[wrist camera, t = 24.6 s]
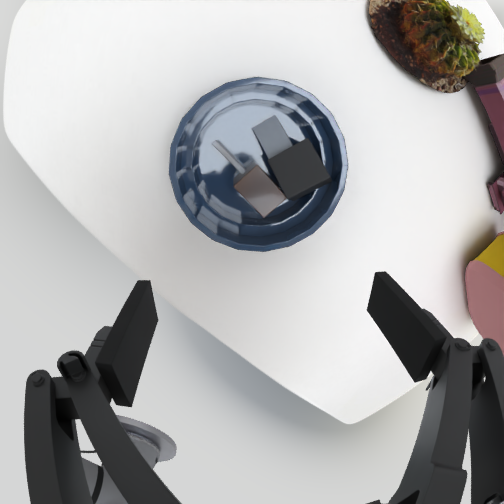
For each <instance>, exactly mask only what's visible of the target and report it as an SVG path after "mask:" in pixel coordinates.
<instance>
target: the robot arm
mask: <svg viewBox="0 0 504 504" xmlns="http://www.w3.org/2000/svg"><path fill="white" fill-rule="evenodd" d="M367 311H368V313H369V314H370V315H371V317H372V318H373V320H374V321H375V323H376V324H377V326H378V327H379V329H380V330H381V331H382V333H383V334H384V336H385V337H386V339H387V340H388V342H389V343H390V345H391V346H392V348H393V349H394V351H395V352H396V354H397V356H398V357H399V359H400V360H401V362H402V363H403V365H404V366H405V368H406V370H407V371H408V373H409V374H410V376H411V378H412V379H413V381H414V382H418V381H422V380H425V379H426V378H427V376H428V375H429V373H430V371H432V373H433V374H434V376H433V378H432V379H431V381H430V383H429V385H428V386H427V388H426V390H428V389H429V388H430V389H429V394H428V399H427V403H426V407H425V411H424V415H423V419H422V422H421V426H420V430H419V433H418V436H417V440H416V443H415V446H414V449H413V452H412V455H411V458H410V461H409V463H408V466H407V469H406V471H405V474H404V477H403V479H402V481H401V484H400V486H399V488H398V490H397V491H396V493H395V494H394V495H393V497H392V498H391V500H390V501H389V503H388V504H460V502H461V499H462V495H463V491H464V487H465V484H466V479H467V471H466V470H463V469H462V464H463V459H464V454H465V448H466V442H467V435H468V428H469V437H470V450H471V504H504V355H503V353H502V350H501V348H500V346H499V344H498V343H497V342H496V341H495V340H493V339H490V338H484V339H483V340H482V342H481V344H480V346H471V345H470V344H469V342H467V341H466V340H464V339H462V338H453V337H452V335H451V334H450V333H449V332H448V331H447V330H446V329H445V328H444V326H443V325H442V324H441V323H440V322H439V321H438V320H437V319H436V318H435V317H434V316H433V314H432V313H430V312H428V311H427V310H425V309H421V308H420V307H419V305H418V304H417V303H416V302H415V301H414V300H413V299H412V298H411V297H410V296H409V295H408V294H407V293H406V292H405V291H404V290H403V289H402V288H401V287H400V286H399V285H398V284H397V282H396V281H395V280H394V279H393V278H392V277H391V276H390V275H389V274H388V273H387V272H375V276H374V281H373V285H372V290H371V294H370V299H369V303H368V307H367ZM157 322H158V317H157V312H156V307H155V302H154V297H153V292H152V287H151V282H150V280H139V281H137V283H136V284H135V286H134V288H133V290H132V292H131V293H130V295H129V297H128V299H127V301H126V302H125V304H124V306H123V308H122V310H121V312H120V313H119V315H118V317H117V319H116V321H115V323H114V325H113V327H109V326H104V327H103V328H102V329H101V330H99V331H98V332H97V334H96V336H95V338H94V341H92V343H91V346H90V347H89V349H88V350H87V352H86V354H85V356H84V355H83V354H82V352H79V351H69V352H66V353H65V354H63V355H62V356H61V357H60V358H59V359H58V362H57V367H58V369H59V371H60V373H61V374H62V376H63V377H53V378H51V376H50V375H49V373H48V372H47V371H45V370H37V371H34V372H33V373H31V374H30V375H29V377H28V379H27V382H26V393H25V409H24V410H25V411H24V444H25V462H26V473H27V482H28V489H29V496H30V501H31V504H181V502H180V501H179V500H178V499H177V498H176V497H175V496H174V495H173V493H172V492H171V491H170V490H169V489H168V488H167V486H166V485H165V484H164V483H163V482H162V480H161V479H160V478H159V477H158V475H157V474H156V473H155V472H154V470H153V468H154V466H155V464H156V463H157V462H158V459H159V457H160V448H159V447H158V445H156V444H155V443H154V442H152V441H151V440H149V439H147V438H145V437H143V436H141V435H138V434H136V433H133V432H129V431H126V430H125V429H124V427H123V426H122V424H121V423H120V421H119V419H118V418H117V416H116V415H115V413H114V411H113V409H112V407H111V406H110V402H111V399H112V398H113V400H114V402H115V404H116V405H120V406H127V407H132V404H133V400H134V397H135V393H136V390H137V386H138V383H139V379H140V376H141V372H142V369H143V366H144V363H145V359H146V356H147V353H148V350H149V347H150V344H151V340H152V337H153V334H154V331H155V328H156V325H157ZM484 377H486V379H485V382H484ZM75 419H81V422H82V424H83V426H84V428H85V430H86V433H87V435H88V437H89V439H90V441H91V443H92V445H93V447H94V449H95V450H94V451H80V448H79V443H78V437H77V430H76V423H75ZM96 452H97V454H98V456H99V458H100V460H101V462H102V466H99V465H96V464H94V463H92V462H90V461H88V460H86V459H84V458H82V457H81V453H96ZM367 504H381V503H380V500H377V501H373V502H370V503H367Z"/></svg>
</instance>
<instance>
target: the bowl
mask: <svg viewBox="0 0 504 504" xmlns="http://www.w3.org/2000/svg"><path fill="white" fill-rule="evenodd" d="M274 115H275V116H276V117H277V118H278V120H279V122H280V123H281V125H282V127H283V128H284V130H285V132H286V134H287V135H288V137H289V139H290V140H291V142H292V144H293V145H295V144H297V143H299V142H301V141H303V140H304V139H306V138H309V140H310V141H311V143H312V145H313V146H314V148H315V150H316V151H317V153H318V155H319V157H320V159H321V160H322V162H323V164H324V166H325V168H326V169H327V171H328V173H329V175H330V177H331V179H332V182H330V183H328V184H326V185H324V186H322V187H320V188H318V189H316V190H314V191H312V192H310V193H308V194H306V195H304V196H303V197H301V198H299V199H297V200H295V201H293V200H289V199H285V200H284V201H283V202H282V203H281V204H280V205H279V206H277V207H276V208H275V209H274V210H273V211H272V212H271V213H270V214H268V215H267V216H266V217H265V218H263V217H262V216H261V215H260V214H259V213H258V212H257V211H256V210H255V209H254V208H253V206H252V205H251V204H250V203H249V202H248V201H247V200H246V199H245V198H244V197H243V196H242V195H241V194H240V193H239V192H238V191H237V190H236V189H235V188H234V187H233V182H234V178H235V177H236V176H237V175H238V174H239V173H240V172H239V171H238V170H237V169H236V168H235V167H234V166H233V165H232V164H231V163H230V162H229V161H228V160H227V159H226V158H225V157H224V156H223V155H222V154H221V153H220V152H219V151H218V150H217V149H216V148H215V147H214V146H213V145H212V143H213V142H214V141H215V140H218V141H219V142H220V143H221V144H222V145H223V146H224V147H225V148H226V149H227V150H228V151H229V152H230V153H231V154H232V155H233V156H234V157H235V158H236V159H237V160H238V161H239V162H240V163H241V164H242V165H243V166H244V167H245V168H246V167H247V166H248V165H249V164H250V163H251V162H253V161H255V162H256V163H257V164H258V165H259V166H260V167H261V168H262V169H263V170H264V172H265V173H266V174H267V175H268V176H269V177H270V178H271V179H272V180H273V181H274V182H275V183H276V185H277V186H278V187H279V188H280V189H281V190H282V188H281V186H280V184H279V182H278V180H277V178H276V176H275V174H274V173H273V171H272V169H271V167H270V165H269V163H268V161H267V160H268V159H269V158H268V157H267V155H266V153H265V151H264V149H263V147H262V145H261V144H260V142H259V140H258V138H257V136H256V135H255V133H254V131H253V129H252V128H253V127H255V126H257V125H258V124H260V123H262V122H264V121H265V120H267V119H269V118H270V117H272V116H274ZM347 170H348V159H347V152H346V146H345V139H344V137H343V135H342V133H341V131H340V129H339V127H338V125H337V123H336V121H335V119H334V117H333V115H332V113H331V112H330V111H329V110H328V109H327V108H326V107H325V106H324V105H323V104H322V103H321V102H320V101H319V100H318V99H317V98H316V97H315V96H314V95H313V94H311V93H309V92H307V91H305V90H303V89H301V88H299V87H297V86H295V85H293V84H291V83H289V82H287V81H283V80H276V79H269V78H262V77H253V78H247V79H242V80H237V81H232V82H228V83H225V84H223V85H222V86H220V87H218V88H216V89H214V90H213V91H211V92H209V93H207V94H206V95H204V96H202V97H201V98H200V99H199V100H198V101H197V102H196V103H195V104H194V106H193V107H192V108H191V109H190V110H189V111H188V112H187V113H186V115H185V116H184V117H183V118H182V120H181V122H180V124H179V127H178V129H177V131H176V134H175V136H174V139H173V141H172V144H171V148H170V164H169V176H170V180H171V183H172V187H173V191H174V194H175V198H176V200H177V202H178V204H179V205H180V207H181V208H182V210H183V211H184V213H185V214H186V216H187V217H188V219H189V220H190V222H191V223H192V224H193V225H194V226H196V227H197V228H198V229H199V230H201V231H202V232H203V233H204V234H206V235H207V236H208V237H209V238H211V239H212V240H214V241H216V242H219V243H222V244H224V245H227V246H229V247H232V248H234V249H237V250H247V251H260V252H266V251H270V250H275V249H280V248H284V247H289V246H292V245H293V244H295V243H297V242H299V241H301V240H302V239H304V238H306V237H308V236H310V235H312V234H313V233H314V232H315V231H316V230H317V229H318V228H319V227H320V226H321V225H322V224H323V223H324V222H325V221H326V220H327V219H328V218H329V217H330V216H331V214H332V213H333V211H334V209H335V208H336V206H337V204H338V202H339V200H340V198H341V196H342V194H343V191H344V188H345V182H346V176H347ZM282 191H283V190H282ZM283 193H284V192H283Z"/></svg>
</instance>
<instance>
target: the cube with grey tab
mask: <svg viewBox="0 0 504 504" xmlns="http://www.w3.org/2000/svg"><path fill="white" fill-rule="evenodd" d="M252 129H253V131H254V133H255V135H256V136H257V138H258V140H259V142H260V144H261V145H262V147H263V149H264V151H265V153H266V155H267V157H268V158H269V159H268V160H267V161H268V163H269V165H270V167H271V169H272V171H273V173H274V174H275V176H276V178H277V180H278V182H279V184H280V186H281V188H282V190H283V192H284V194H285V196H286V198H287V199H289V200H293V201H295V200H297V199H299V198H301V197H303V196H304V195H306V194H308V193H310V192H312V191H314V190H316V189H318V188H320V187H322V186H324V185H326V184H328V183H330V182H332V179H331V177H330V175H329V173H328V171H327V169H326V168H325V166H324V164H323V162H322V160H321V159H320V157H319V155H318V153H317V151H316V150H315V148H314V146H313V145H312V143H311V141H310V140H309V138H306V139H304V140H303V141H301V142H299V143H297V144H295V145H293V144H292V142H291V140H290V139H289V137H288V135H287V134H286V132H285V130H284V128H283V127H282V125H281V123H280V122H279V120H278V118H277V117H276V116H275V115H274V116H272V117H270V118H269V119H267V120H265V121H264V122H262V123H260V124H258V125H257V126H255V127H253V128H252Z"/></svg>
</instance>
